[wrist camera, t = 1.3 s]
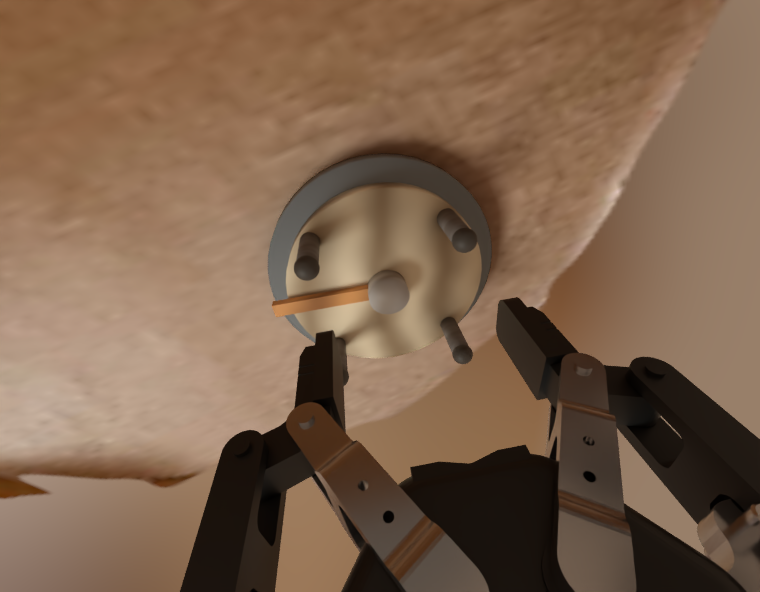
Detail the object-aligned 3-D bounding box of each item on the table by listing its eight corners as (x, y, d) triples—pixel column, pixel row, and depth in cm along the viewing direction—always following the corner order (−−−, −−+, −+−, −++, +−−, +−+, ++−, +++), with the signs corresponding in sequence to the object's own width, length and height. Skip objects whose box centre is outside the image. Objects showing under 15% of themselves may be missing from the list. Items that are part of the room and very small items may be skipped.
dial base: (490, 134, 31) (500, 138, 29) (480, 328, 45) (486, 339, 43) (235, 176, 31) (229, 183, 29) (303, 360, 44) (302, 373, 42)
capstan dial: (478, 165, 30) (519, 191, 24) (472, 330, 42) (498, 378, 35) (243, 205, 30) (219, 242, 23) (302, 361, 41) (297, 417, 35)
